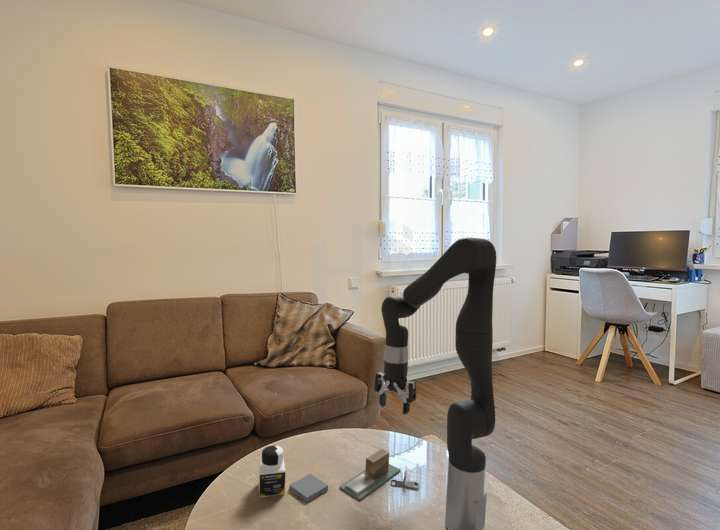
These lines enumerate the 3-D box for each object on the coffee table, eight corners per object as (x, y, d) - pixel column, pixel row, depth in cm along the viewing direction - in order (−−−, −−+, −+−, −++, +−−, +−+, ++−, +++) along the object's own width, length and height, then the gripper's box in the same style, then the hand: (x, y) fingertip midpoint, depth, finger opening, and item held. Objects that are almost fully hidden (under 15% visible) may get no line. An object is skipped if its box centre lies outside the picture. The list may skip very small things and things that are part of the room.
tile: (328, 485, 115) (307, 497, 109) (327, 491, 115) (306, 503, 109) (310, 473, 120) (289, 484, 114) (310, 479, 120) (289, 490, 114)
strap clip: (419, 485, 120) (419, 471, 119) (418, 491, 117) (419, 477, 116) (391, 481, 121) (391, 467, 121) (390, 486, 118) (390, 473, 118)
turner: (390, 471, 124) (391, 453, 124) (357, 495, 112) (358, 474, 112) (378, 465, 128) (379, 447, 127) (345, 487, 115) (345, 467, 115)
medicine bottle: (259, 498, 110) (260, 456, 109) (258, 483, 117) (259, 443, 116) (284, 495, 112) (286, 454, 111) (282, 480, 119) (284, 441, 118)
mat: (400, 471, 126) (400, 469, 126) (359, 500, 111) (360, 498, 111) (380, 461, 131) (380, 459, 131) (339, 488, 116) (339, 486, 116)
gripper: (421, 361, 121) (419, 412, 122) (384, 352, 130) (382, 400, 131) (409, 366, 116) (406, 420, 116) (370, 356, 125) (368, 406, 125)
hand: (394, 409), depth 124 cm, fingers open, 8 cm apart
